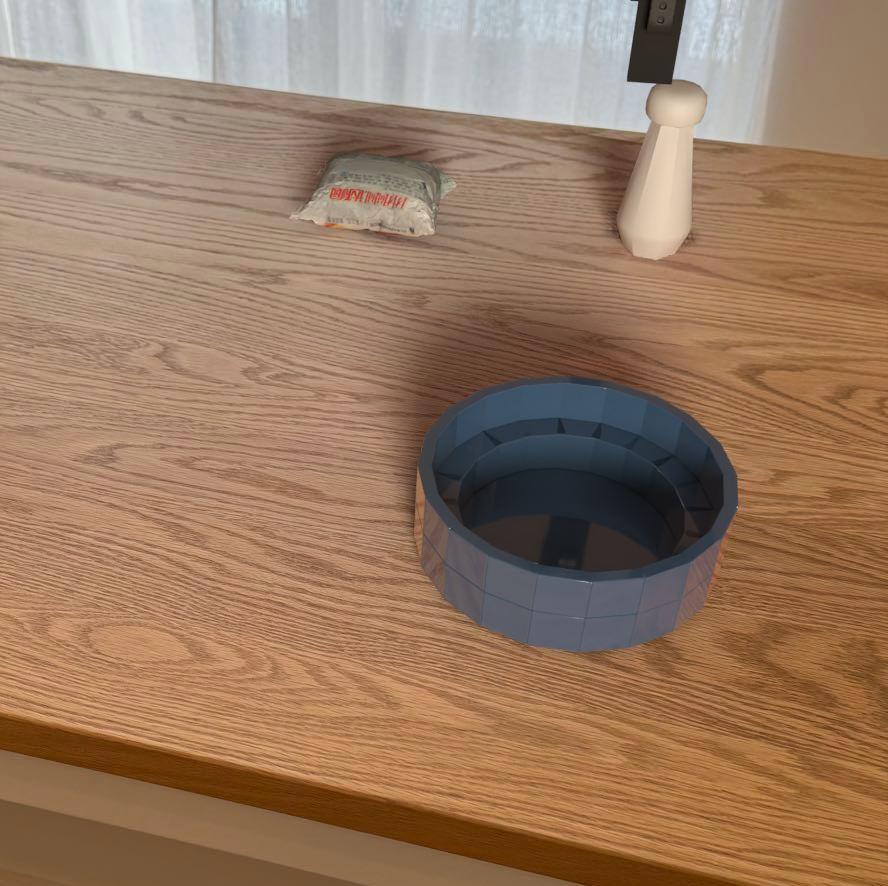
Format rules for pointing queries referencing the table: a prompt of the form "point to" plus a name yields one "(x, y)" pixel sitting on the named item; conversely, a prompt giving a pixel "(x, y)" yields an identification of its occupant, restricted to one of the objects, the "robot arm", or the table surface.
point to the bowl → (573, 512)
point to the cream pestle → (663, 173)
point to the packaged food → (377, 194)
